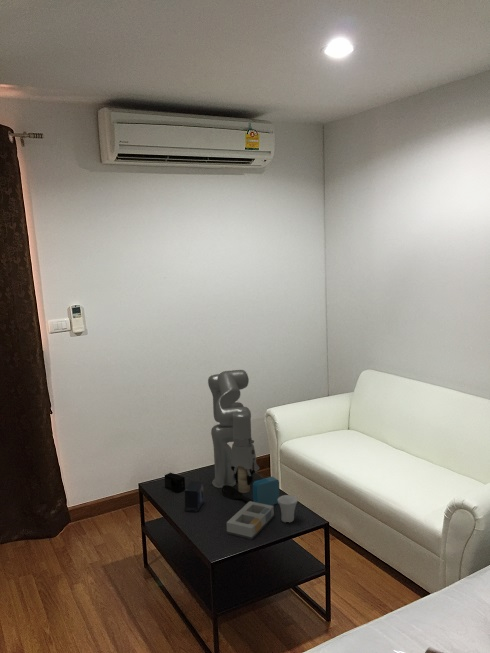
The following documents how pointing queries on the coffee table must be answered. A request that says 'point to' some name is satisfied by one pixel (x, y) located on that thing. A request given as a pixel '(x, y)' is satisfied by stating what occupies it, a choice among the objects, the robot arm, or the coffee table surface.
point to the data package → (266, 491)
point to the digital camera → (174, 482)
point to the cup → (287, 507)
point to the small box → (194, 496)
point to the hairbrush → (233, 493)
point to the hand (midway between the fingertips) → (243, 482)
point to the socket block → (250, 520)
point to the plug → (243, 480)
